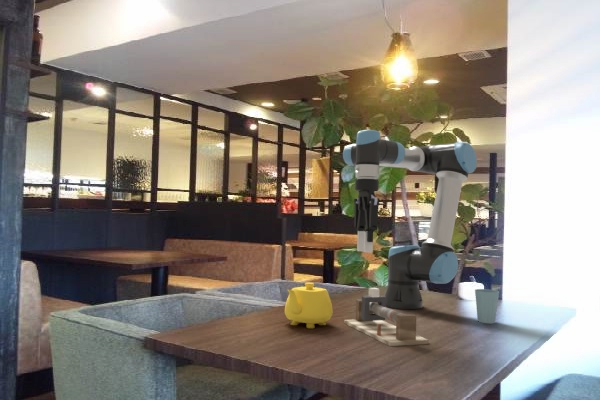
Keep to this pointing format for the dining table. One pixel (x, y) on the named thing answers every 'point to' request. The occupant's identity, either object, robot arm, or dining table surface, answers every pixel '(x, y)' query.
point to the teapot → (308, 305)
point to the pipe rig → (388, 326)
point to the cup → (486, 305)
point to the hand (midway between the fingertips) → (364, 251)
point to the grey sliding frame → (366, 305)
